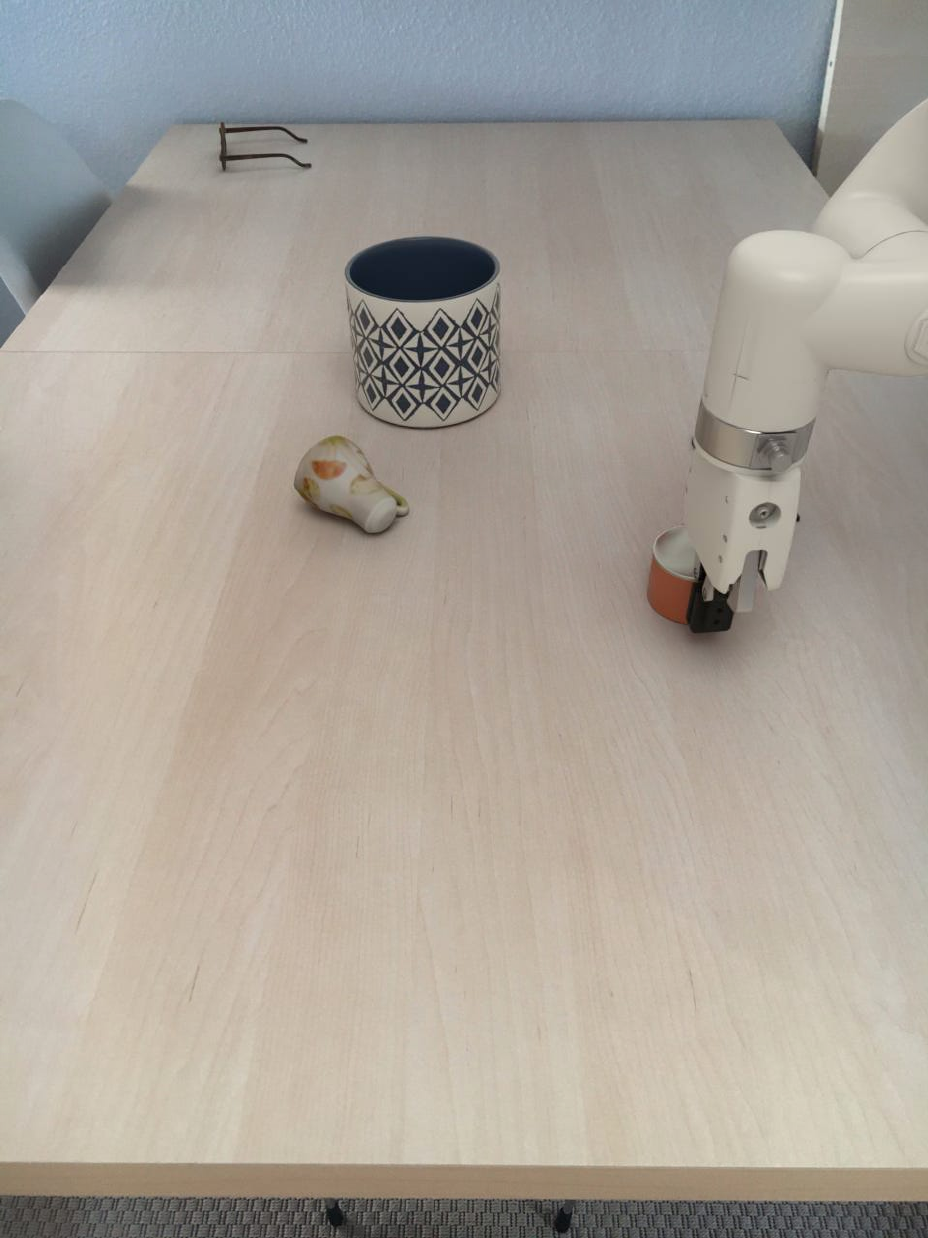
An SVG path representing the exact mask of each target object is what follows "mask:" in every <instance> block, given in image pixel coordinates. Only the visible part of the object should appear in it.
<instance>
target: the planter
mask: <svg viewBox="0 0 928 1238" xmlns="http://www.w3.org/2000/svg"><path fill="white" fill-rule="evenodd" d="M343 275H344V285H345V296H346V305H347V307H346V308H347V316H348V324H349V325H348V326H349V335H350V343H351V352H352V353H351V354H352V363H353V371H354V381H355V390H356V396H357V399H358V402H359V403H360V405H361V406H362V407H363V408H364V410H365V411H367V412H368V413H369V414H371V415H372V416H374V417H376V418H378V419H380V420H382V421H385V422H387V423H390V424H394V425H397V426H403V427H408V428H424V429H425V428H426V429H428V428H440V427H441V428H442V427H446V426H448V427H449V426H452V425H456V424H460V423H463V422H466V421H469V420H471V419H473V418H475V417H477V416H479V415H480V414H482V413H484V412H485V411H487V410H488V409H489V408H490V407H491V406H492V405H493V404H494V402H495V401H496V400H497V398H498V396H499V394H500V389H501V297H502V296H501V295H502V293H501V289H502V288H501V287H502V286H501V263H500V260H499V259H498V257H497V256H496V255H495V254H494V253H493V252H492V251H490V250H489V249H488V248H487V247H485V246H482V245H480V244H477V243H474V242H472V241H469V240H464V239H460V238H454V237H448V236H439V235H437V236H433V235H424V236H423V235H422V236H409V237H400V238H395V239H391V240H386V241H381V242H379V243H376V244H372V245H371V246H368V247H366V248H364V249H362V250H360V251H359V252H357V253H356V254H355V255H354V256H352V257H351V258H350V259H349V260H348V262H347V263H346V266H345V268H344V272H343Z"/></svg>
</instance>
